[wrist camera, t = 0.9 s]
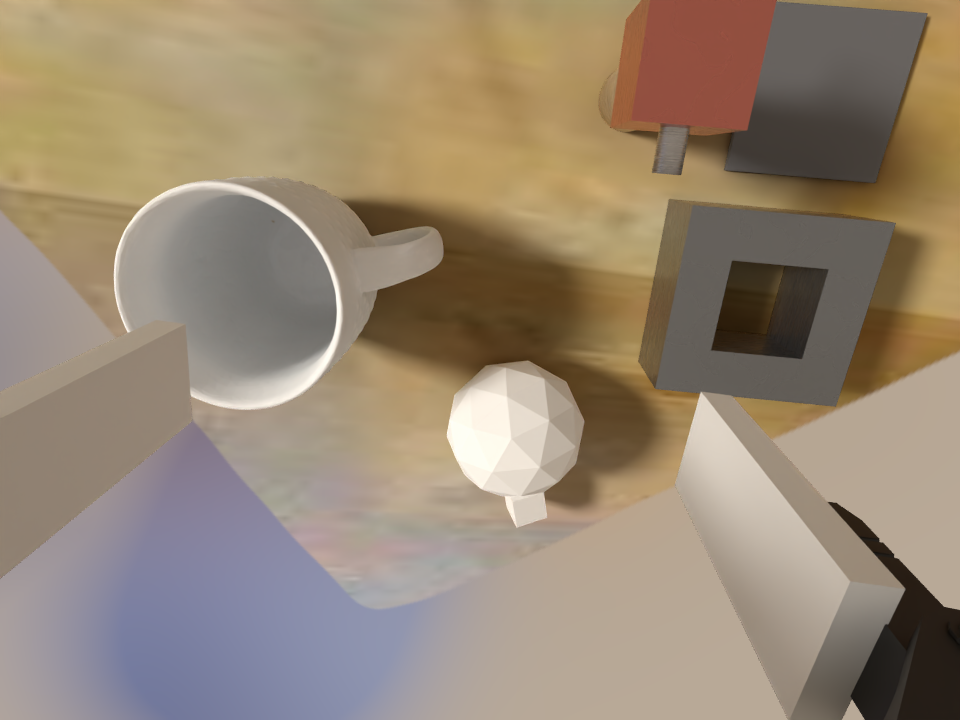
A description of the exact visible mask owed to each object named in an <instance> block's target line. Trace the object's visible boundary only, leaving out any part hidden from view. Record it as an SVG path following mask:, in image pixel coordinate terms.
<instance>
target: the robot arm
mask: <svg viewBox="0 0 960 720" xmlns="http://www.w3.org/2000/svg"><path fill="white" fill-rule="evenodd" d="M190 422H192V407H191V393H190V379H189V364H188V350H187V336H186V324H183V323H175V322H167V321H160V320H155V321H153V322H151V323H148V324H146V325H144V326H142V327H140V328H137V329H135V330H133V331H131V332H129V333H127V334H124V335H122V336H120V337H118V338H116V339H113V340H111V341H109V342H107V343H105V344H103V345H100V346H98V347H96V348H94V349H92V350H90V351H87V352H85V353H83V354H81V355H79V356H76V357H74V358H72V359H70V360H68V361H66V362H64V363H61V364H59V365H57V366H55V367H52V368H50V369H48V370H46V371H44V372H42V373H40V374H37V375H35V376H33V377H31V378H29V379H26V380H24V381H22V382H20V383H18V384H15V385H13V386H11V387H9V388H7V389H5V390H2V391H0V578H2V577H3V576H4V575H5V574H7V573H8V572H9V571H10V570H12V569H13V568H14V567H15V566H16V565H18V564H19V563H20V562H21V561H23V560H24V559H25V558H26V557H27V556H29V555H30V554H31V553H32V552H34V551H35V550H36V549H37V548H38V547H40V546H41V545H42V544H43V543H44V542H46V541H47V540H48V539H49V538H51V536H53V535H54V534H55V533H57V532H58V531H59V530H60V529H62V528H63V527H64V526H65V525H66V524H68V523H69V522H70V521H71V520H72V519H74V518H75V517H76V516H77V515H78V514H80V513H81V512H82V511H83V510H85V508H87V507H88V506H89V505H91V504H92V503H93V502H94V501H96V500H97V499H98V498H99V497H100V496H102V495H103V494H104V493H105V492H106V491H108V490H109V489H110V488H111V487H112V486H114V485H115V484H116V483H117V482H119V481H120V480H121V479H122V478H123V477H124V476H126V475H127V474H128V473H130V472H131V471H132V470H133V469H134V468H136V467H137V466H138V465H139V464H140V463H142V462H143V461H144V460H145V459H146V458H148V457H149V456H150V455H151V454H153V453H154V452H155V451H156V450H157V449H159V448H160V447H161V446H162V445H164V444H165V443H166V442H167V441H168V440H170V439H171V438H172V437H173V436H175V435H176V434H177V433H178V432H179V431H181V430H182V429H183V428H184V427H185V426H187V425H188V424H189V423H190ZM675 487H676V489H677V491H678V493H679V495H680V497H681V499H682V501H683V503H684V505H685V508H686V510H687V512H688V514H689V516H690V518H691V520H692V522H693V524H694V526H695V528H696V530H697V532H698V534H699V536H700V538H701V541H702V542H703V545H704V547H705V549H706V551H707V553H708V555H709V557H710V559H711V561H712V563H713V565H714V567H715V569H716V572H717V574H718V575H719V578H720V580H721V582H722V584H723V586H724V588H725V590H726V592H727V594H728V596H729V599H730V601H731V603H732V605H733V607H734V609H735V611H736V613H737V615H738V617H739V619H740V621H741V623H742V625H743V628H744V629H745V632H746V634H747V636H748V638H749V640H750V642H751V644H752V646H753V648H754V650H755V652H756V654H757V656H758V659H759V661H760V663H761V665H762V666H763V669H764V671H765V673H766V675H767V677H768V679H769V681H770V683H771V685H772V688H773V689H774V692H775V694H776V696H777V698H778V700H779V702H780V704H781V706H782V708H783V710H784V712H785V714H786V716H787V719H788V720H842V718H843V716H844V714H845V712H846V710H847V708H848V706H849V704H850V702H851V700H853V701H854V703H855V704H856V706H857V708H858V709H859V711H860V713H861V714H862V716H863V717H864V719H865V720H960V610H957V609H952V608H947V607H944V606H943V605H942V604H941V603H940V602H939V601H938V600H937V599H936V598H935V597H934V596H933V595H932V594H931V593H930V592H929V591H928V590H927V588H925V586H924V585H923V584H922V583H921V582H920V581H919V580H918V579H917V578H916V577H915V576H914V575H913V574H912V573H911V572H910V571H909V570H908V569H907V567H906V566H905V565H904V564H903V563H902V562H901V561H900V560H899V559H897V558H894V554H893V553H892V552H891V551H890V550H889V548H888V547H887V546H886V545H885V544H884V543H881V542H879V538H878V537H877V536H876V535H875V534H874V533H873V532H872V531H871V529H870V528H869V527H868V526H867V525H866V524H865V523H864V522H863V521H862V520H860V519H859V518H858V517H856V516H855V515H853V514H852V513H850V512H849V511H847V510H846V509H844V508H843V507H841V506H840V505H838V504H837V503H833V502H827V501H826V500H825V499H824V498H823V497H822V496H821V495H820V493H819V492H818V491H817V490H816V489H815V488H814V487H813V486H812V484H811V483H810V482H809V481H808V480H807V479H806V478H805V477H804V476H803V474H802V473H801V472H800V471H799V470H798V469H797V468H796V467H795V466H794V464H793V463H792V462H791V461H790V460H789V459H788V458H787V457H786V456H785V455H784V453H783V452H782V451H781V450H780V449H779V448H778V447H777V446H776V445H775V443H774V442H773V441H772V440H771V439H770V438H769V437H768V436H767V434H766V433H765V432H764V431H763V430H762V429H761V428H760V427H759V426H758V424H757V423H756V422H755V421H754V420H753V419H752V418H751V417H750V416H749V414H748V413H747V412H746V411H745V410H744V409H743V408H742V407H741V406H740V404H739V403H738V402H737V401H736V400H735V399H734V398H733V397H732V396H731V395H723V394H715V393H708V392H701V394H700V397H699V401H698V404H697V408H696V411H695V415H694V418H693V422H692V426H691V429H690V433H689V436H688V440H687V443H686V447H685V451H684V454H683V458H682V461H681V465H680V468H679V472H678V475H677V479H676V483H675Z"/></svg>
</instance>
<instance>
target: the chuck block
mask: <svg viewBox="0 0 960 720" xmlns="http://www.w3.org/2000/svg"><path fill="white" fill-rule="evenodd" d="M895 224H896V223H893V222H887V221H881V220H875V219H869V218H863V217H857V216H851V215H844V214H833V213H821V212H810V211H799V210H787V209H776V208H764V207H753V206H741V205H730V204H718V203H707V202H696V201H684V200H673V199H669V203H668V208H667V214H666V219H665V224H664V229H663V235H662V240H661V245H660V251H659V256H658V261H657V266H656V272H655V277H654V282H653V287H652V293H651V298H650V303H649V309H648V314H647V319H646V324H645V330H644V335H643V340H642V345H641V351H640V356H639V363H640V365H641V366H642V368H643V370H644V371H645V373H646V375H647V376H648V378H649V379H650V381H651V383H652V384H653V386H654V388H655V389H662V390H672V391H682V392H693V393H701V392H708V393H715V394H723V395H731V396H734V397H744V398H754V399H764V400H775V401H785V402H795V403H805V404H816V405H826V406H836V404H837V401H838V398H839V395H840V392H841V389H842V386H843V383H844V380H845V377H846V374H847V371H848V368H849V365H850V362H851V359H852V356H853V352H854V349H855V346H856V343H857V340H858V337H859V334H860V331H861V328H862V325H863V322H864V319H865V316H866V313H867V310H868V307H869V304H870V301H871V298H872V295H873V291H874V288H875V285H876V282H877V279H878V276H879V273H880V270H881V267H882V264H883V261H884V258H885V255H886V252H887V249H888V246H889V243H890V240H891V237H892V234H893V231H894V227H895ZM732 261H743V262H754V263H765V264H776V265H785V268H784V272H783V276H782V279H781V283H780V287H779V291H778V294H777V298H776V302H775V305H774V309H773V313H772V317H771V320H770V324H769V328H768V332H767V335H766V334H756V333H745V332H735V331H724V330H716V327H717V323H718V318H719V314H720V310H721V306H722V301H723V297H724V293H725V289H726V284H727V280H728V276H729V272H730V267H731V263H732Z"/></svg>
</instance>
